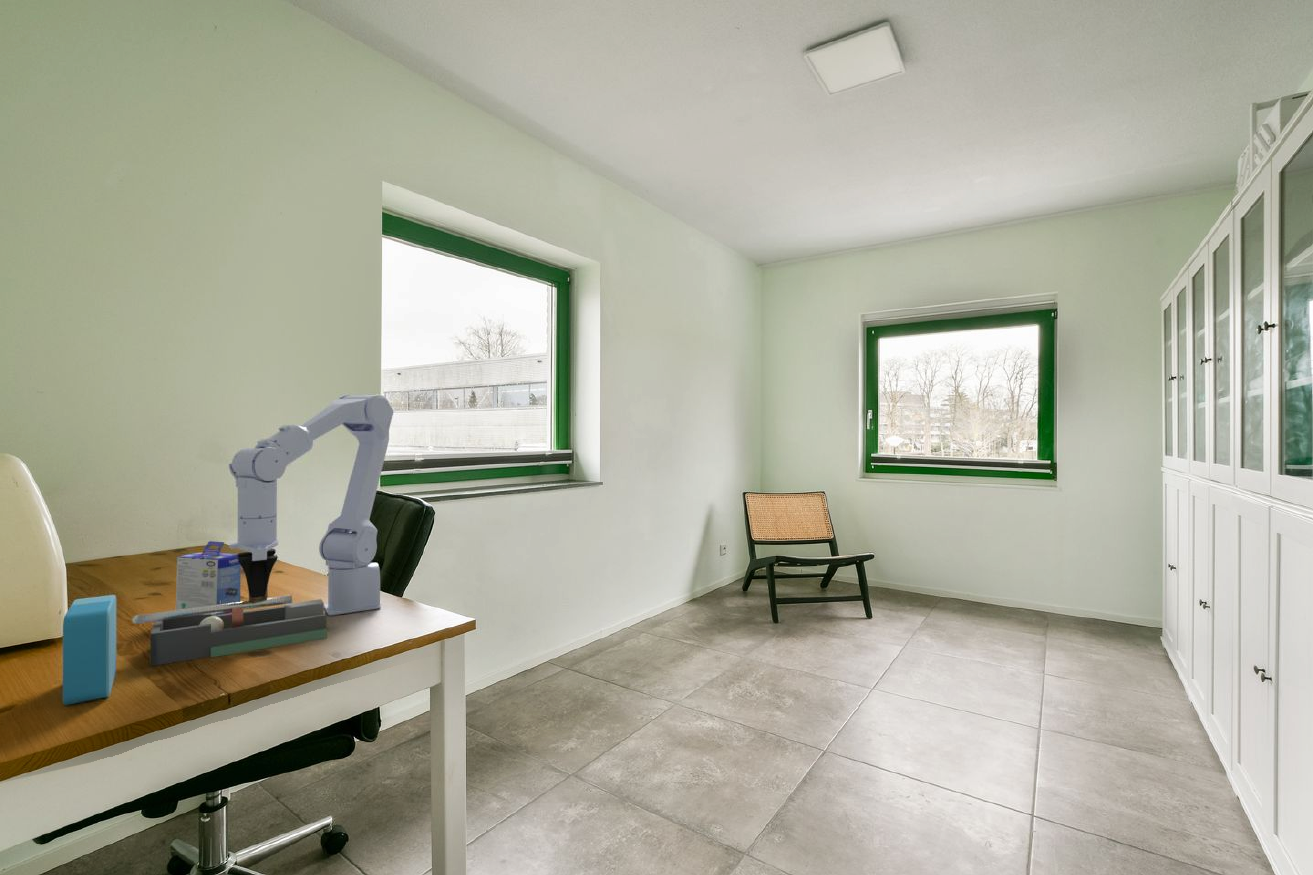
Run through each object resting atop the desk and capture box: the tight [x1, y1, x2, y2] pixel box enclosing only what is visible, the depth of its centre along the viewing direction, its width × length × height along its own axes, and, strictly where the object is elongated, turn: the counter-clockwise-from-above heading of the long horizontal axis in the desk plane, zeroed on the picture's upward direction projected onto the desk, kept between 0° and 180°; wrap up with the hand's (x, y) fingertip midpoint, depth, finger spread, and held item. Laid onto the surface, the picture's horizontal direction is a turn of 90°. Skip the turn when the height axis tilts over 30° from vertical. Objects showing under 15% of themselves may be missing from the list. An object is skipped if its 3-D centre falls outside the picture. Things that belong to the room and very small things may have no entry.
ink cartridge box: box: [175, 540, 242, 616], centre depth 117 cm, size 10×6×14 cm, turn 79°
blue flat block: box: [62, 594, 117, 706], centre depth 85 cm, size 12×4×12 cm, turn 38°
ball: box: [199, 616, 224, 631], centre depth 102 cm, size 4×4×4 cm
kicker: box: [131, 585, 293, 628], centre depth 102 cm, size 22×5×9 cm, turn 126°
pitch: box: [150, 598, 328, 667], centre depth 105 cm, size 24×12×5 cm, turn 126°
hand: (257, 594), depth 106 cm, fingers closed on kicker, 3 cm apart
